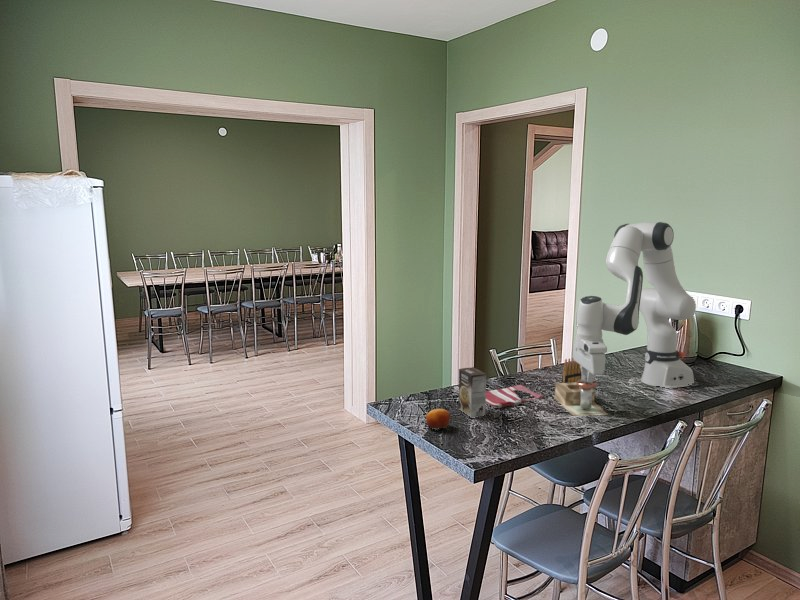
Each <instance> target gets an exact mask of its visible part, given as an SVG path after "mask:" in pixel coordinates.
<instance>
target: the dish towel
mask: <svg viewBox="0 0 800 600" xmlns="http://www.w3.org/2000/svg"><path fill="white" fill-rule="evenodd" d="M515 391H520V392H525V393H528V394H530V395H532V396H533V398H528V399H527V398H526V399H521V398H520V397H519V395H518V394H517V393H516V392H515ZM544 397H545V396H544V395H542V394H539V393H537V392H534V391H532V390H530V389H529V388H527V387H526V386H524V385H521V384H516V385H514V386H510V387H506V388H504V387H503V388H498V389H494V390H486V403H487V404H488V405H491V406H492V407H494V408H501V409H503V408H502V407H506V406H512V405H516V406H518V405H517V404H522V403H524V402H528V401H529V402H530V401H536V400H540V399H544ZM522 405H523V404H522ZM512 407H513V406H512Z"/></svg>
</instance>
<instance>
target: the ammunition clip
mask: <svg viewBox="0 0 800 600" xmlns="http://www.w3.org/2000/svg"><path fill="white" fill-rule="evenodd" d="M581 373H582V372H581V368H580V364H578V363H577V362H576V361H574V359H573V357H572V358H571V359H570V357H569V358H568V359H567V358H565V360H564V363H563V370H562V376H561V383H577V380H581Z"/></svg>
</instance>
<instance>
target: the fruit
mask: <svg viewBox="0 0 800 600" xmlns="http://www.w3.org/2000/svg"><path fill="white" fill-rule="evenodd" d="M450 418H451V416H450V412H449V411H448V410H446V409H445V408H434V409H431V410H430V411H429V412H427V414H426V416H425V419H426V420H425V421H426V425H427V426H430V427H431V428H436V429H438V428H446V429H447V427H448V425H449V424H450ZM431 428H430V429H431Z"/></svg>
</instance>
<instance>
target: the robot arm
mask: <svg viewBox="0 0 800 600" xmlns="http://www.w3.org/2000/svg"><path fill="white" fill-rule="evenodd" d="M674 233H675V232H674V229H673V227H672V226H671V224H669V223H667V222H663V221H659V222H655V221H654V222H653V221H642V222H636V223H624V224H621V225H619V226H618V227H617V229H616V230H615V231H614V234H613V240H612V242H611V244H610V245H609V249H608V250H607V255H606V257H605V266H606V267H607V269H608V271H609V272H610V273H611V274H612V275H614V276H615V277H616V278H618V279H620V280H622V281H624V282H626V283H627V290H626V296H625V297H626V298H625V302H624V303H623V304H621V305H619V304H618V305H617V304H612V303H611V304H610V303H605V302H603V298H601V297H599V296H596V295H587V296H583V297H582V298H580V300H579V302H578V305H577V312H576V314H577V315H576V323H577V329H576V332H575V334H576V335H575V342H574V344H573V351H572V352H573V353H572V358H573V359H574V361H576V362H577V363H578V364H580V368H581V372H582V373H588V376H586V381H587V382H593V381H594V380H593V379H594V377H595V376H603V374H604V373H605V370H606V369H605V368H606V359H607V358H606V353H608V347H607V345H606V343H605V342H604V338H603V332H602V330H603V331H606V332H612V333H617V334H620V335H624V336H628V335H631V333H634V332H635V331H637V329H638V327H639V324H640V321H639V320H640V313H641V314H642V316H643V319H644V323H645V324H646V330H647V331H646V332H647V343H646V348H645V354H644V362H645V363H644V367H643V372H642V375H641V378H640V381H641V383H643V384H645V385H648V386H652V387H656V386H660V387H659V388H662V387H665V388H664V389H666V388H677V387H684V386H689V385H692V383H694V379H695V377H694V372H693V369H692V368H691V367H690V366H688V365H687V364H686V363H685V362H683V361H682V359H683V358H685V357H686V353H684V352H682V351H678V350H677V339H678V332H677V330H676V329H675V328H674V327H673V326H672V325H671V323H670V320H676V321H677V320H678V321H681V320H682V321H683V320H686V321H687V320H690V319H691V318H692V317H693V315H694V314H695V312H696V310H697V309H696V307H697V304H696V301H695V299H694V297H692V296H691V295H690V294H688V292H687V291H686V290H685V288H684V287H683V286H682V285H681V283H680V280H679V279H678V276H677V273H676V268H675V266H676V265H675V262H674V254H673V249H672V245H673V242H674V236H675V235H674ZM641 254H642V261H643V269H644V273H645V274H643V270H642V268H641V267H640V266H639V259H640V256H641ZM644 275H645V279H646V281H647V282H648V283H649V284H650V285H651V286H652V287H653V288H643V282H644ZM669 319H670V320H669ZM680 358H682V359H680ZM688 384H689V385H688Z"/></svg>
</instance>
